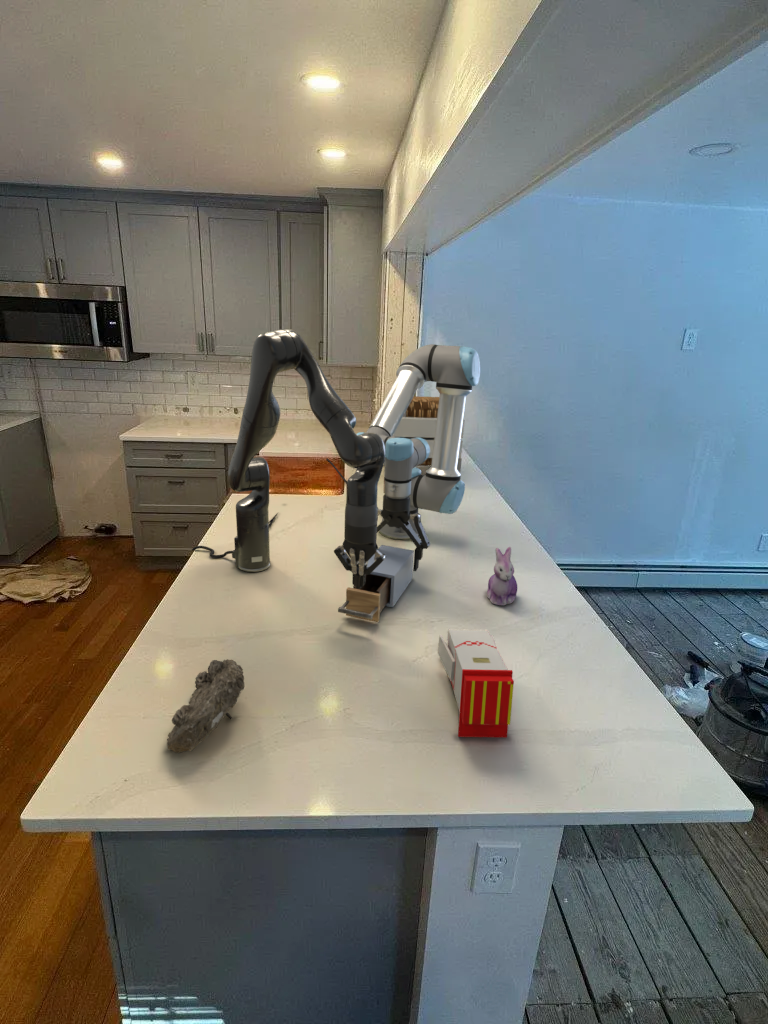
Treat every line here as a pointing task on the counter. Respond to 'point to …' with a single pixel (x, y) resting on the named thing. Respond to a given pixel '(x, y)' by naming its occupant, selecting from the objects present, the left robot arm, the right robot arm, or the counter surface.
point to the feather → (272, 520)
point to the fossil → (206, 705)
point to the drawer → (367, 598)
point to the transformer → (423, 424)
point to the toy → (478, 682)
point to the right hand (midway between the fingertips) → (393, 565)
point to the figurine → (502, 580)
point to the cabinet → (395, 569)
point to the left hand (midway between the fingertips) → (358, 587)
